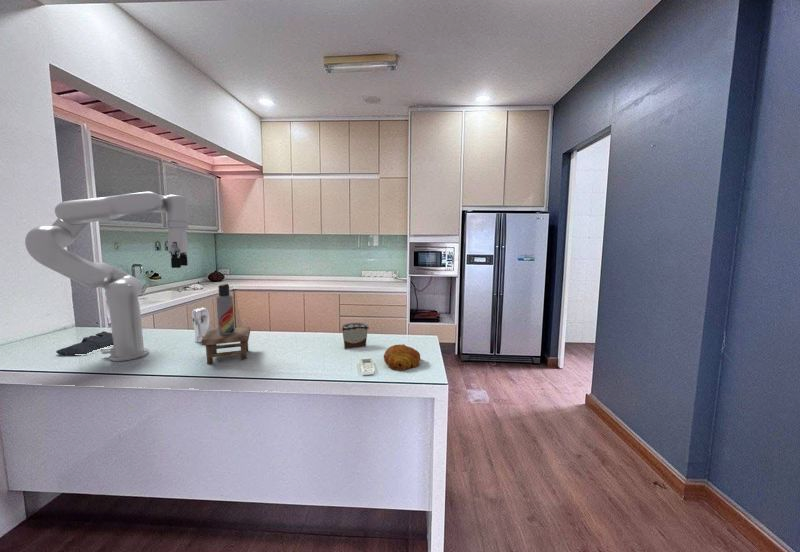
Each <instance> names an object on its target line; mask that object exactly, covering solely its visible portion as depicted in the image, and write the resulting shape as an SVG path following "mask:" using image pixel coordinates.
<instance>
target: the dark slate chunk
mask: <svg viewBox="0 0 800 552" xmlns="http://www.w3.org/2000/svg"><path fill="white" fill-rule="evenodd" d="M110 345H113V338H112V332H108V331H104V330H103V331H101V332H98V333H95V335H89V336H85V337H83V338H82V340H81V342H79V343H75V344H72V345H68V346H66V347H63V348H60V349H57V350H56V353H57V354H58V355H70V354H71V356H76V355H75V354H87V353H89V352H92V351H93V350H97V349H100V348H104V347H107V346H110ZM110 347H111V346H110Z"/></svg>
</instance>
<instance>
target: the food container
mask: <svg viewBox="0 0 800 552" xmlns="http://www.w3.org/2000/svg"><path fill="white" fill-rule="evenodd" d="M368 330H370V328H369V325H368V324H367V323H363V322H348V323H345V324H343V325H342V326H341V329H340V331H341V332H342V337H343V343H344V344H343V346H344V350H350V349H359V348H360V349H361V348H366V347H367V338H368Z"/></svg>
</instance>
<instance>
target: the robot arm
mask: <svg viewBox="0 0 800 552" xmlns="http://www.w3.org/2000/svg"><path fill="white" fill-rule="evenodd" d="M188 210H189V209H188V199H187V197H186V196H184V195H179V194H169V195H163V194H162V195H161V194H158V193H156V192H153V191H142V192H141V191H140V192H134V193H133V192H131V193H124V194H118V195H108V196H102V197H93V198H92V197H90V198H82V199H73V200H66V201H61V202H59V203H58V204H57V205H56V206H55V207H54V213H55V216H56V217H57V219H55V221H54V222H53V223H52V224H51V225H41V226H40V225H39V226H37V227H33V228H32V229H30V230H29V231H28V232H27V233H26V235H25V239H24V242H25V244H24V245H25V248H26V251H27V253H28V254H29V255H30V256H31V258H33V260H35V261H36V262H37V263H39V264H41V266H44V267H45V268H47V269H50V270H52V271H54V272H56V273H58V274H60V275H62V276H64V277H66V278H68V279H70V280H71V281H72V280H73V281H74V282H76V283H78V284H81V285H82V286H84V287H86V288H89V289H90V288H91V289H97V288H102V289H105V297H106V303H107V306H108V310H109V320H110V328H111V333H112V338H113V346H110V347H108V348H102V349H101V350H100V352H101V354H102V355H107V354H110V355H109V361H113V362H125V361H131V360H135V359H139V358H142V357H144V356H147V355H149V353H150V350H149V349H148V348H146V347H144V337H143V325H142V315H141V308H140V302H139V296H140V295H141V293H142V292H143V284H142V282H141V281H140V280H139V279H138V278H137V277H135V276H133V275H131V274H129V273H127V272H126V271H123V270H121V269H119V268H117V266H114V265H113V264H109V263H106V262H100V261H98V262H97V261H96V262H93V261H90V260H88V259H86V258H84V257H82V256H80V255H79V254H76V253H74V252H72V251H69V250H68V249H65V248H67V247H69V246H71V244H73V243H74V242H75V240H76V239H77V238H79V236H80V235H81V234H82V233H83V232H84V231H85V230H86V229H87V227H88V226H89V224H90V223H95V222H102V221H109V220H117V219H119V218H121V217H123V216H124V217H125V216H129V215H134V214H135V215H136V214H144V213H154V214H155V213H156V214H157V213H165V215H166V229H167V230H168V231H167V251H168V253H169V254H170V264H171V265H170V266H171V268H172V269H179V268H180V269H181V267H182V266H183V267H184V266H185V267H187V266H188V254H187V252H188V249H189V248H188V236H187V235H188V234H187V230H189V213H188V212H189V211H188Z"/></svg>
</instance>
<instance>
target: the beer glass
mask: <svg viewBox="0 0 800 552" xmlns="http://www.w3.org/2000/svg"><path fill="white" fill-rule="evenodd" d="M191 323H192V326H193V330H194V335H195V337H194V342H195V343H197V344H198V343H200V344H202V342H201V340H202V339H203V337H204V336H205V334H206V333H207V331H208V330H210V328H209V327H210V312H209V308H208V307H197V308H193V309H191Z"/></svg>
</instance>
